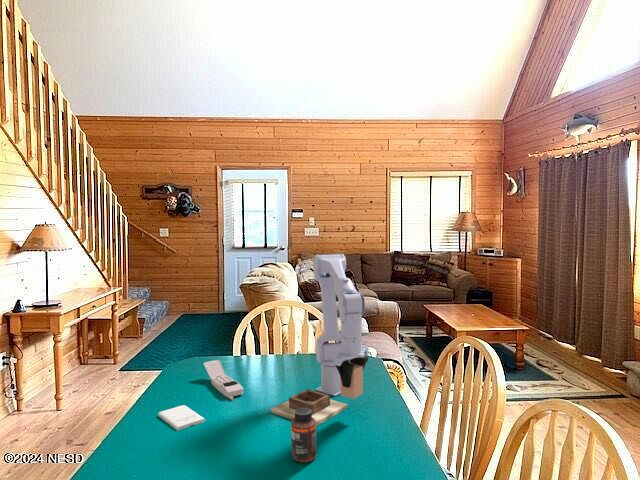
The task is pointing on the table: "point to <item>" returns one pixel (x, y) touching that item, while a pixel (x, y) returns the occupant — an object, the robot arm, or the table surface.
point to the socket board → (310, 406)
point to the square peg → (354, 383)
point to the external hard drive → (181, 417)
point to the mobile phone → (222, 380)
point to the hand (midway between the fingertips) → (351, 384)
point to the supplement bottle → (303, 436)
